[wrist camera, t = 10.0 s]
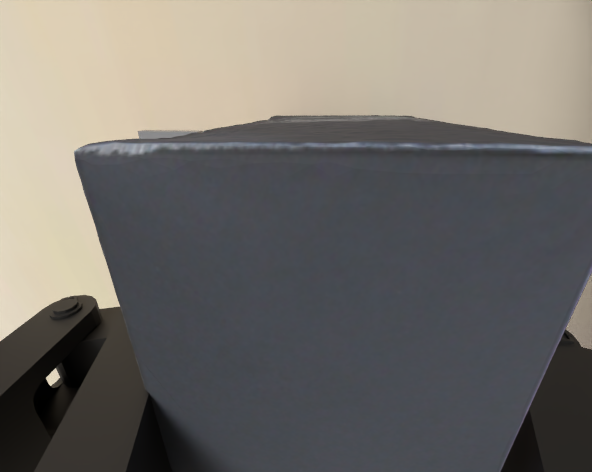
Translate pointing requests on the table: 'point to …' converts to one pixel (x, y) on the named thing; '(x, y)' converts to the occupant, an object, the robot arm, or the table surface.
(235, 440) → the small box
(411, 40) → the table surface
